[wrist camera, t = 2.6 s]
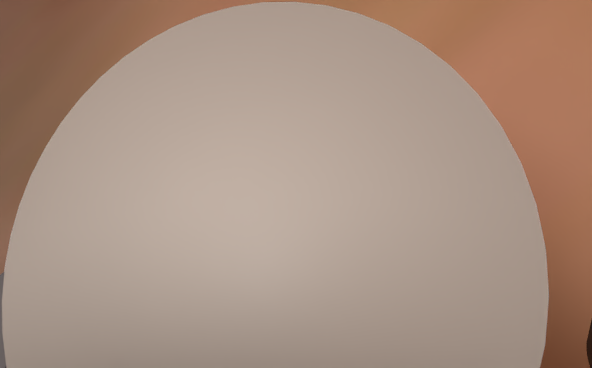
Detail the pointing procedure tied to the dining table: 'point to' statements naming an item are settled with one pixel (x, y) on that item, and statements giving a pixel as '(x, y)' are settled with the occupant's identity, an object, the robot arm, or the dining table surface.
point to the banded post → (277, 209)
